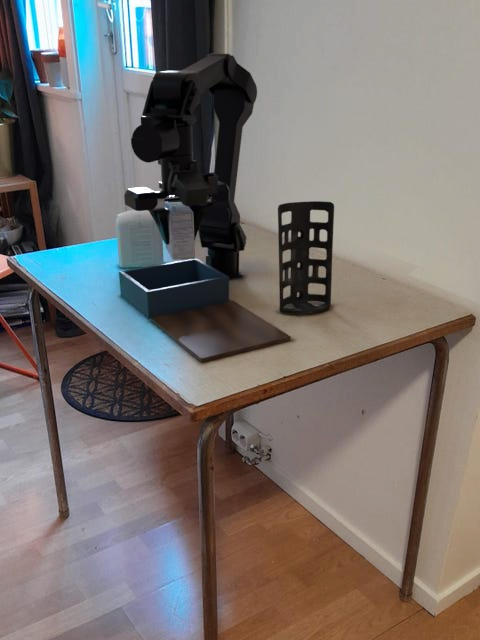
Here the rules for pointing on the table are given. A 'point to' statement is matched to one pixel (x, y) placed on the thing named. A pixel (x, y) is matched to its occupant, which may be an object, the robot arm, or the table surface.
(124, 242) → the grey rounded block
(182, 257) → the medicine box
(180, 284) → the tote
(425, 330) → the table surface
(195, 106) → the robot arm
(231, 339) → the board
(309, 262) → the holder
